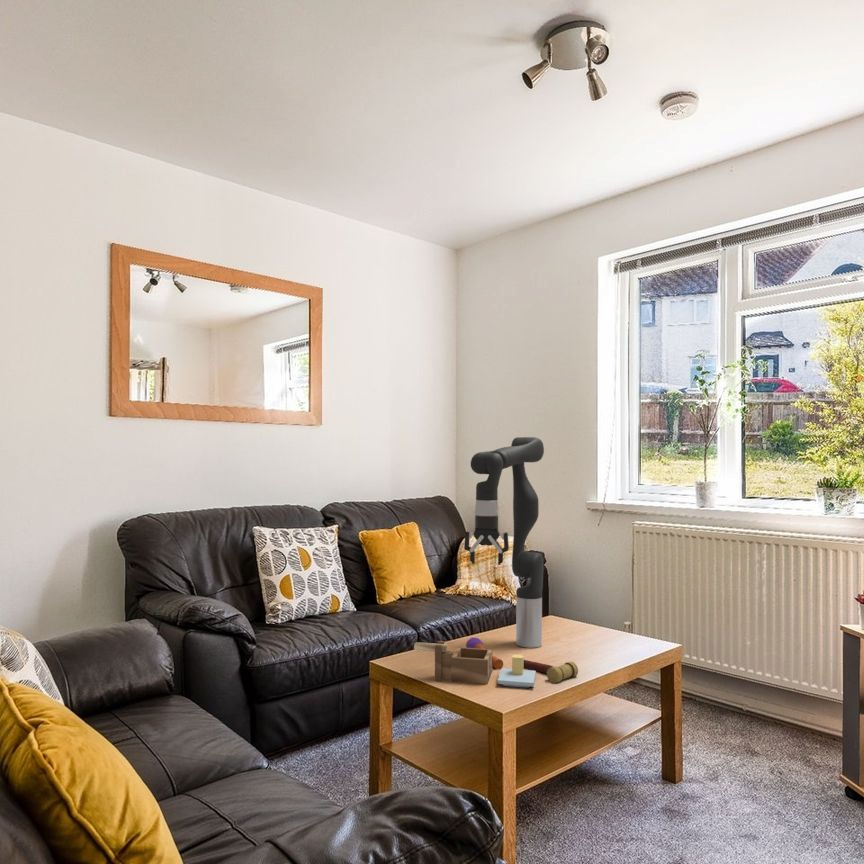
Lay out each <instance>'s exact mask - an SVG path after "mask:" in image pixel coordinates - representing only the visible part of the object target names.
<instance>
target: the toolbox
mask: <svg viewBox="0 0 864 864" xmlns="http://www.w3.org/2000/svg"><path fill="white" fill-rule="evenodd" d="M439 644H445V641H444V640H437V643H436V644H435V652H434V681H435V682H436V681H437V682H442V681H451V682H456V683H457V682H458V683H466V684H467V683H470V684H481V685H482V684H483V685H488V683H489V682H490V678H491V676H492V673H493V665H492V656H493V649H492V648H485V649H480V648H466V646H465V647H463V646H457V648H456V649H455V651H454V650H447V652H442V645H439Z"/></svg>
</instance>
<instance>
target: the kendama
mask: <svg viewBox="0 0 864 864" xmlns="http://www.w3.org/2000/svg"><path fill="white" fill-rule="evenodd" d="M465 648H480V649H486V648H485V646H484V643H483V640H482V639H480V638H479V637H471V638H469V639H468V640H467V641H466V644H465ZM503 666H504V661H503V660H502V659H500V658H498V657H496V656H494V655H492V667H493V668H495V670H501V669H502V668H504V667H503Z"/></svg>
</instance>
